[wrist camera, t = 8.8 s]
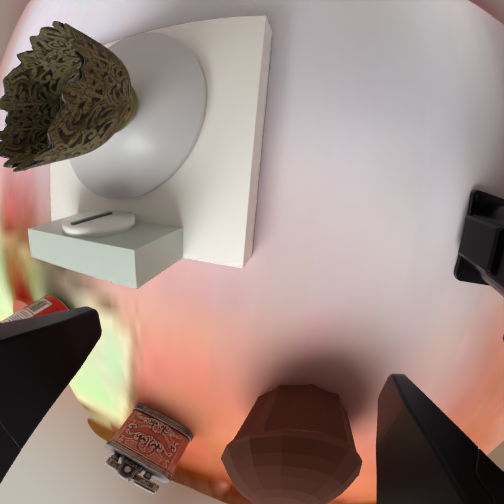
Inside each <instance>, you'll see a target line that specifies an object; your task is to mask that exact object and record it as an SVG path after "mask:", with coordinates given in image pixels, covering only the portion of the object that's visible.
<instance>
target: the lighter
mask: <svg viewBox="0 0 504 504" xmlns="http://www.w3.org/2000/svg"><path fill="white" fill-rule="evenodd" d="M192 439H193V433H192V432H191V431H189V430H188V429H186V428H185V427H183V426H181V425H180V424H178V423H176V422H175V421H173V420H171V419H169V418H168V417H166V416H164V415H162V414H160V413H158V412H156V411H154V410H152V409H150V408H148V407H146V406H144V405H141V404H137V405H136V406H135V407H134V408H133V410H132V413H131V415H130V416H129V417H128V419H127V420H126V421H125V422H124V424H123V425H122V426H121V428H120V429H119V430H118V431H117V433H116V434H115V435H114V437H113V438H112V439H111V440H109V441H108V442H107V443H106V445H105V447H106V448H107V450H109V452H111V453H112V454H113V455H112V456H111V457H110V458H109V459H108V460H107V461H106V463H105V465H106V466H107V467H109V468H110V469H112V470H113V471H115V472H117V473H118V474H119V477H120V478H121V479H122V480H123V481H127V482H128V481H132V482H133V483H135V485H136V486H138V487H139V488H142V489H143V490H145V491H147V492H149V493H151V494H153V493H156V492H157V490H158V488H159V485H157V484H155V483H153V482H151V481H149V480H150V479H151V477H152V478H154V479H156V480H159V481H161V482H164V483H169V482H170V480H171V479H172V476H171V475H172V473H173V471H174V470H175V468H176V466H177V464H178V462H179V460H180V458H181V457H182V455H183V453H184V451H185V449H186V447H187V445H188V444H189V443H190V442H191V441H192ZM119 459H121V461H122V463H121V464H120V463H118V460H119ZM141 472H142V473H144V475H143V477H142V476H140V475H138V474H140V473H141Z"/></svg>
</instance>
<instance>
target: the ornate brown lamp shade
mask: <svg viewBox="0 0 504 504" xmlns="http://www.w3.org/2000/svg"><path fill="white" fill-rule="evenodd" d="M52 25H53V27H43V28H41V29H40V33H39V35H38V36H31V37H30V42H31V45H32V49H33V51H32V50H31V51H25V52H22V53H19V54H17V57H18V59H19V60H20V61H21V64H20V65H19V66H17V67H16V68H14V69H13V70H12V71H11V72H10V73H9V74H8V75H7V76H6V77H5V78H4V79H3V87H4V92H5V95H4V96H2V98H0V109H1V110H5V111H6V112H7V111H8V114H7V115H8V117H7V116H6V119H5V122H6V125H7V126H5V128H4V130H3V131H0V140H2V141H0V156H1V157H4V158H8V159H9V160H8V161H7V162H5V163H4V165H3V166H4V167H9V168H14V167H16V168H15V169H14V170H13V171H14V172H17V171H22V170H23V171H25V170H27V169H30V168H33V167H37V166H41V165H46V164H50V163H54V162H58V161H63V160H67V159H71V158H75V157H78V156H81V155H84V154H87V153H89V152H92V151H94V150H96V149H97V148H99V147H100V146H102V145H103V144H105V143H106V142H107V141H108V140H109V139H110V138H111V137H112V136H113V135H114V134H115V133H118V132H120V131H122V130H123V129H125V128H126V127H127V126H128V125H129V124H130V123H131V121H132V120H133V118H134V116H135V114H136V111H137V107H138V97H137V93H136V91H135V90H134V88H133V87H132V85H131V81H130V76H129V73H128V71H127V69H126V67H125V65H124V63H123V62H122V61H121V60H120V59H119V58H118V57H117V56H116V55H115V54H114V53H113V52H112V51H110V50H109V49H108V48H106V47H105V46H103V45H102V44H100V43H98V42H97V41H95V40H94V39H92V38H90V37H89V36H87V35H85V34H84V33H82V32H80V31H78V30H76V29H75V28H73V27H71V26H70V25H68V24H66V23H65V24H63V23H61V22H58V21H54V22H53V24H52ZM54 27H55V28H54Z"/></svg>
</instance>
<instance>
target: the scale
mask: <svg viewBox="0 0 504 504" xmlns="http://www.w3.org/2000/svg"><path fill="white" fill-rule="evenodd" d="M271 42H272V30H271V27H270V24H269V22H268V19H267V17H266V16H242V17H228V18H218V19H210V20H202V21H195V22H189V23H183V24H178V25H173V26H168V27H164V28H159V29H155V30H151V31H147V32H143V33H140V34H136V35H132V36H129V37H126V38H123V39H120V40H117V41H114V42H111V43H108V44H105V45H103V46H105V47H106V48H108V49H109V50H110V51H112V52H113V53H114V54H115V55H116V56H117V57H118V58H119V59H120V60H121V61H122V62H123V63H124V65H125V67H126V69H127V71H128V73H129V76H130V81H131V85H132V87H133V88H134V90H135V91H136V93H137V97H138V107H137V111H136V114H135V116H134V118H133V120H132V121H131V123H130V124H129V125H128V126H127V127H126V128H125V129H123V130H122V131H120V132H118V133H115V134H114V135H113V136H112V137H111V138H110V139H109V140H108V141H107V142H106V143H105V144H103V145H102V146H100V147H99V148H97V149H96V150H94V151H92V152H89V153H87V154H84V155H81V156H78V157H75V158H71V159H67V160H63V161H58V162H54V163H51V170H50V195H51V218H52V221H51V222H48V223H44V224H41V225H38V226H34V227H31V228H28V236H29V244H30V252H31V257H34V258H37V259H40V260H42V261H45V262H48V263H51V264H54V265H57V266H60V267H63V268H66V269H70V270H73V271H76V272H79V273H82V274H85V275H89V276H92V277H95V278H99V279H102V280H106V281H109V282H113V283H116V284H120V285H123V286H127V287H131V288H134V289H138V288H139V287H141V286H142V285H144V284H145V283H146V282H148V281H149V280H151V279H152V278H154V277H155V276H157V275H158V274H159V273H161V272H162V271H164V270H165V269H167V268H168V267H170V266H171V265H173V264H174V263H176V262H177V261H179V260H180V259H181V258H187V259H193V260H199V261H204V262H210V263H216V264H222V265H228V266H233V267H239V268H243V267H244V266H245V264H246V263H247V262H248V260H249V259H250V258H251V257H252V247H253V236H254V226H255V215H256V204H257V193H258V182H259V172H260V161H261V150H262V139H263V128H264V117H265V107H266V96H267V85H268V74H269V63H270V52H271Z"/></svg>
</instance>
